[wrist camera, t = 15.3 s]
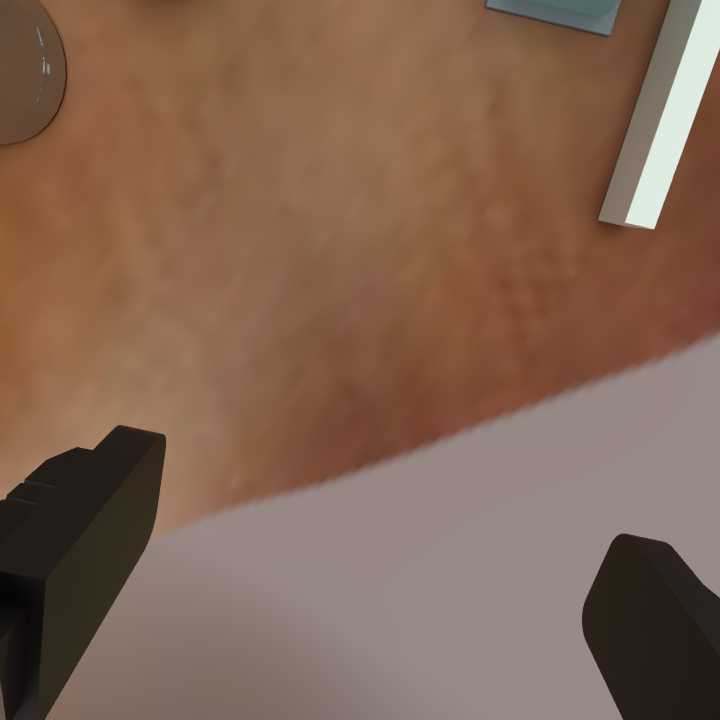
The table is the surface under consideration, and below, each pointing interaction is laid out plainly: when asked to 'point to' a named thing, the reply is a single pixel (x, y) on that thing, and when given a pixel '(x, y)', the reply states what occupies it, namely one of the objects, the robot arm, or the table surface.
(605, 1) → the teal block
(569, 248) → the table surface
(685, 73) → the white l-shaped bracket
